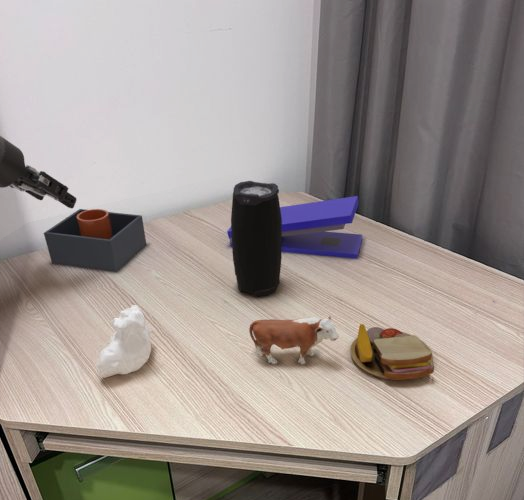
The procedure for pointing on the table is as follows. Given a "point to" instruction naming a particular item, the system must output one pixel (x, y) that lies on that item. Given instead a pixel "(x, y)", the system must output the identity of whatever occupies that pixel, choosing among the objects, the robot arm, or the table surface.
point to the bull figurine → (291, 335)
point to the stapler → (319, 228)
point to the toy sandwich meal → (391, 354)
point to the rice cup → (95, 224)
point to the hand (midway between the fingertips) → (58, 199)
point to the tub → (96, 243)
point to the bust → (126, 344)
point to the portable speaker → (256, 237)
